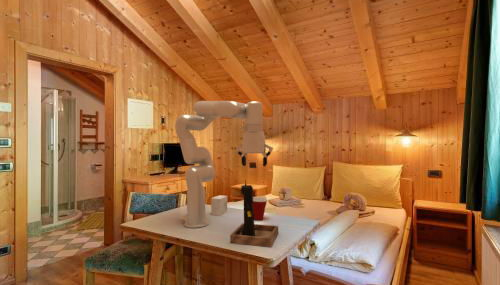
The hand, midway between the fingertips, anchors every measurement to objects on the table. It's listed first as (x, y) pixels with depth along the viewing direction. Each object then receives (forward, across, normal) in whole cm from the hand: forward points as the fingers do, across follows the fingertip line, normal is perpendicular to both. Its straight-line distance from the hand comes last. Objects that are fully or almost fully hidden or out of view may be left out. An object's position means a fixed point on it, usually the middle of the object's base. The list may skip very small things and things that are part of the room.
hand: (254, 166), depth 120 cm
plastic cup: (+33, -6, +30) cm, 45 cm away
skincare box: (+34, -32, +37) cm, 59 cm away
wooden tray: (+33, 0, 0) cm, 33 cm away
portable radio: (+32, -2, -1) cm, 32 cm away
